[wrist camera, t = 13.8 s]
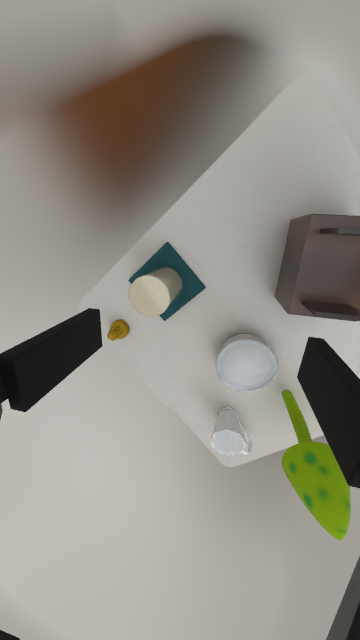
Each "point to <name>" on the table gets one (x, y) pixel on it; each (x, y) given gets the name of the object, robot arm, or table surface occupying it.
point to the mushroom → (316, 476)
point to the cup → (229, 434)
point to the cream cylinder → (155, 291)
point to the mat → (175, 262)
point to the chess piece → (118, 330)
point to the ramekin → (246, 363)
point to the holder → (321, 267)
